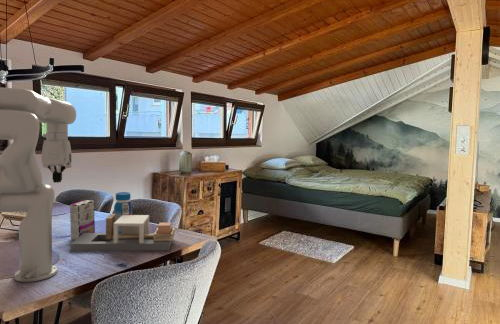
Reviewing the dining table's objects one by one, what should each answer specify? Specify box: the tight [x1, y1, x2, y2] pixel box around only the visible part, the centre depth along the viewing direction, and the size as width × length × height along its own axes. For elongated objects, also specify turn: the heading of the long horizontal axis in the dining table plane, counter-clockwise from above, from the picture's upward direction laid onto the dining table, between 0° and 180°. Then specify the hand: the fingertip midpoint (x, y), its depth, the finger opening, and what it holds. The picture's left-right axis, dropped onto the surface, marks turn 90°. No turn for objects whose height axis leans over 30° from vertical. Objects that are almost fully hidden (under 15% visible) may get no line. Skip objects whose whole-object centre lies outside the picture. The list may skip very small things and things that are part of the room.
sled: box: [105, 213, 176, 242], centre depth 153 cm, size 10×28×10 cm, turn 97°
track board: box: [69, 214, 174, 252], centre depth 153 cm, size 16×40×12 cm, turn 97°
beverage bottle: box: [113, 191, 133, 233], centre depth 169 cm, size 8×8×20 cm
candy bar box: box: [69, 199, 96, 241], centre depth 162 cm, size 11×5×16 cm, turn 168°
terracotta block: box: [157, 222, 172, 234], centre depth 155 cm, size 5×5×5 cm
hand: (57, 182), depth 141 cm, fingers closed
